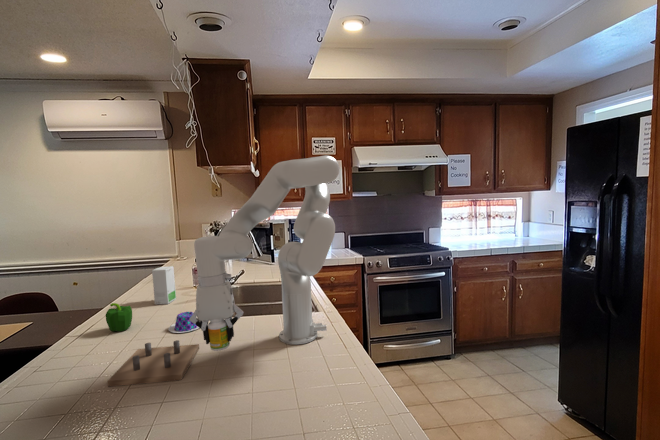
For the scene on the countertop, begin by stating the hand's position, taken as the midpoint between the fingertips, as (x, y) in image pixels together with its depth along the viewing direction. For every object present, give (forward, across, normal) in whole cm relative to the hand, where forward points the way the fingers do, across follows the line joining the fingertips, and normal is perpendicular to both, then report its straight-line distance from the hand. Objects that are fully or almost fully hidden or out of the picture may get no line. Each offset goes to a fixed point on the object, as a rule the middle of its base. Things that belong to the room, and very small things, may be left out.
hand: (219, 340), depth 100 cm
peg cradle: (+5, +17, +1) cm, 18 cm away
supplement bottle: (+2, 0, 0) cm, 2 cm away
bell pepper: (+5, +41, -30) cm, 51 cm away
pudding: (+6, +18, -28) cm, 33 cm away
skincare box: (+6, +36, -61) cm, 72 cm away
